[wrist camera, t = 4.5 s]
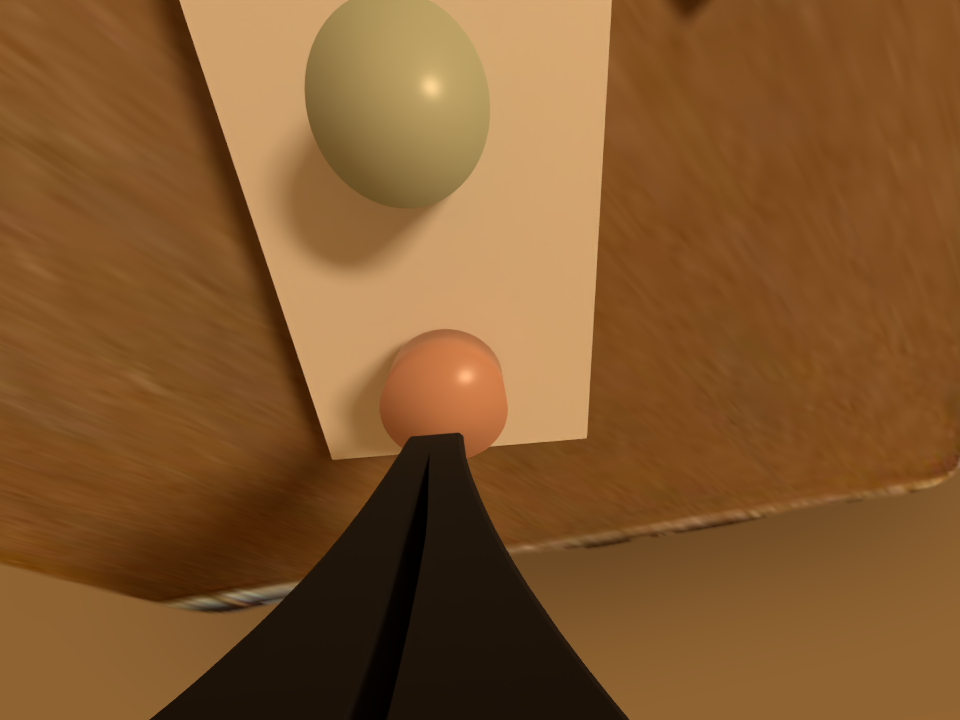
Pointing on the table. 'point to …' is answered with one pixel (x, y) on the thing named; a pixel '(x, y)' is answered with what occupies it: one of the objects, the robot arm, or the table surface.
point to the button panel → (427, 213)
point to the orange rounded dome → (445, 390)
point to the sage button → (397, 100)
